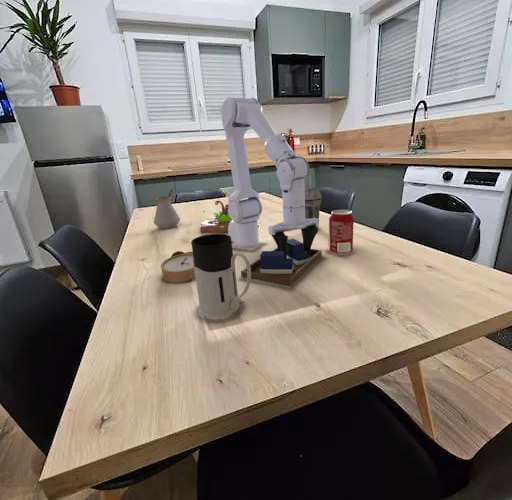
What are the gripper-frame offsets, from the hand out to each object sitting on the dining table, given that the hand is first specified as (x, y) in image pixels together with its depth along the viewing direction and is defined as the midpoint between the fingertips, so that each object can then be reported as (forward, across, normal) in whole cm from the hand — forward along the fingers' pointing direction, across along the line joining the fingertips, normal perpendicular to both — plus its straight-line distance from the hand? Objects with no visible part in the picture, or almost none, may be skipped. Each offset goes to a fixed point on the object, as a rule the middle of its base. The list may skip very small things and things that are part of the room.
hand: (295, 255), depth 81 cm
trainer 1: (+1, -8, -4) cm, 9 cm away
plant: (+2, -4, +51) cm, 51 cm away
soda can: (+2, +15, 0) cm, 15 cm away
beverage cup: (+2, +22, +26) cm, 34 cm away
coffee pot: (+2, -23, +73) cm, 77 cm away
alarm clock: (+2, -28, +11) cm, 30 cm away
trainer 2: (+1, 0, 0) cm, 1 cm away
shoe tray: (+2, -5, -2) cm, 5 cm away
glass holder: (+2, -25, -16) cm, 30 cm away
